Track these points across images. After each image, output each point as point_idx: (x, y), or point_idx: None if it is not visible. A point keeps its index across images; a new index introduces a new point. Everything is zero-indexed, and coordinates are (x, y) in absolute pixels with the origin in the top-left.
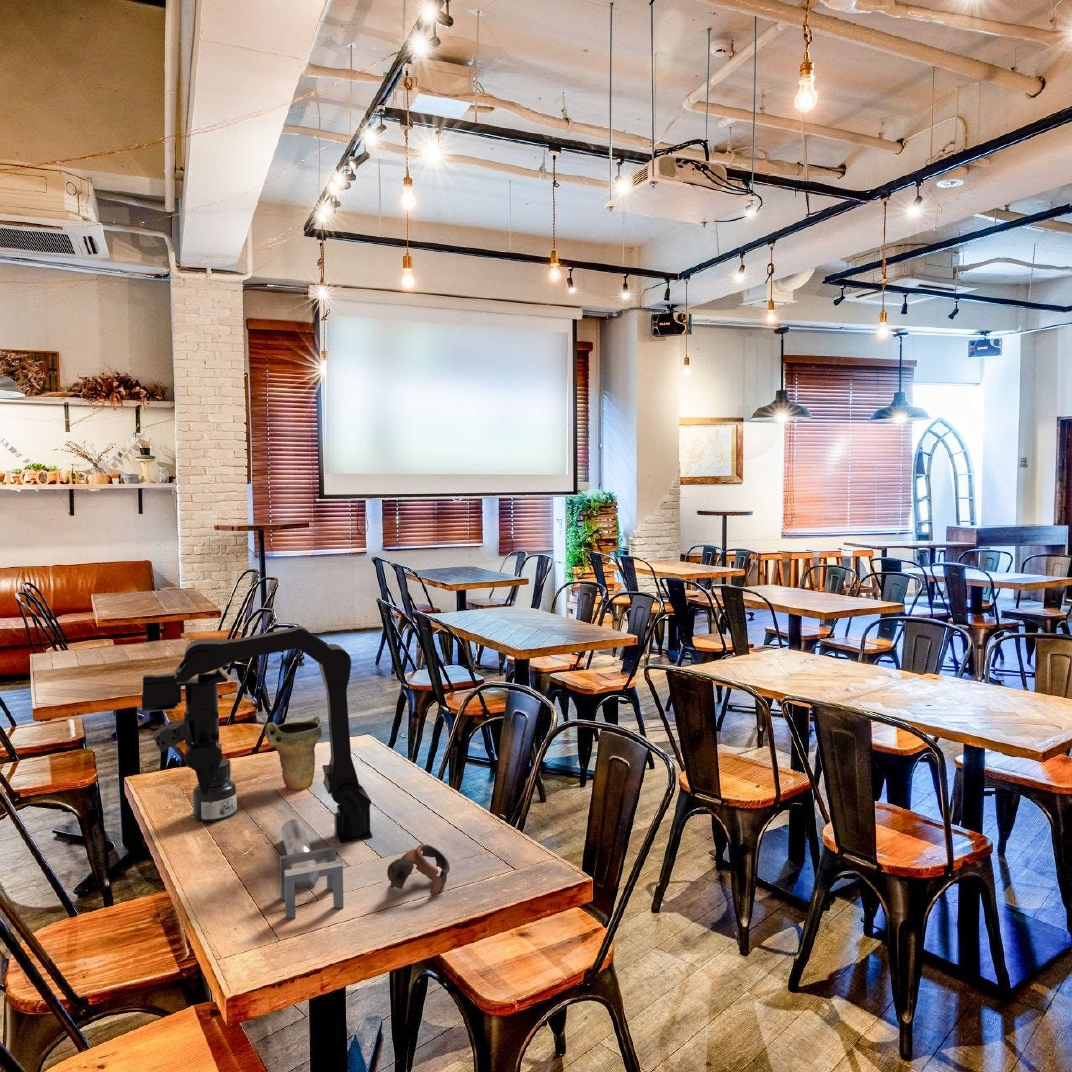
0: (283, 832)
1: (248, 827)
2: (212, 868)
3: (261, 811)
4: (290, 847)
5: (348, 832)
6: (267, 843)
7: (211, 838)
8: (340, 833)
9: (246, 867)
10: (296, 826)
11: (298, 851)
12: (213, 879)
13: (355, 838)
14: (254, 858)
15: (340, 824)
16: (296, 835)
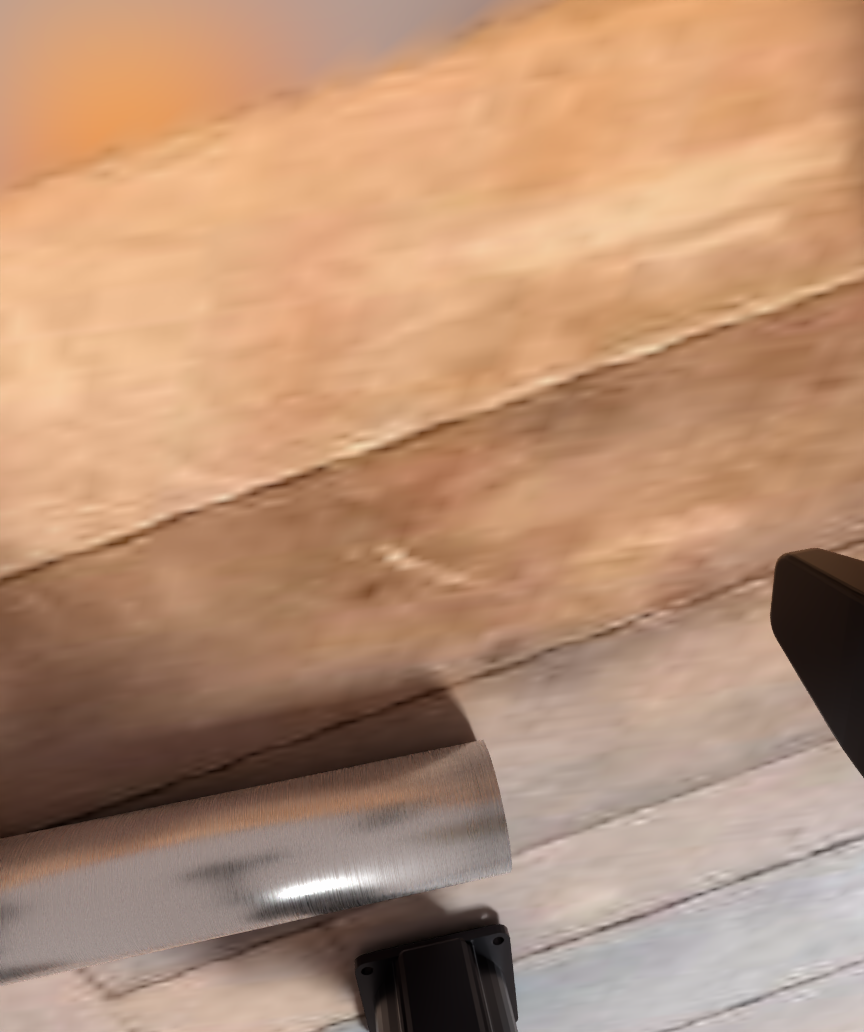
0: (411, 802)
1: (771, 525)
2: (212, 390)
3: None
4: (131, 881)
5: (383, 1014)
6: (493, 651)
7: (708, 320)
8: (395, 981)
9: (184, 586)
10: (398, 889)
11: (5, 950)
12: (34, 419)
13: (365, 1009)
14: (303, 612)
15: (401, 1029)
16: (252, 910)
